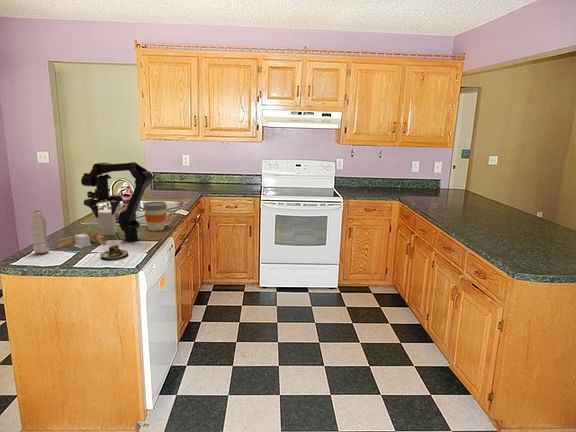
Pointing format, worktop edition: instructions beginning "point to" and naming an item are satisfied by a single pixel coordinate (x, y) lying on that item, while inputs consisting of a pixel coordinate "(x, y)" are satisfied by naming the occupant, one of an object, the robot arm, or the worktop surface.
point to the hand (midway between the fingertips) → (104, 216)
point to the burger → (113, 252)
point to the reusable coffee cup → (155, 215)
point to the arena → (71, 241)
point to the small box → (106, 223)
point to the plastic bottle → (39, 233)
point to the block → (82, 240)
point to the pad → (80, 246)
